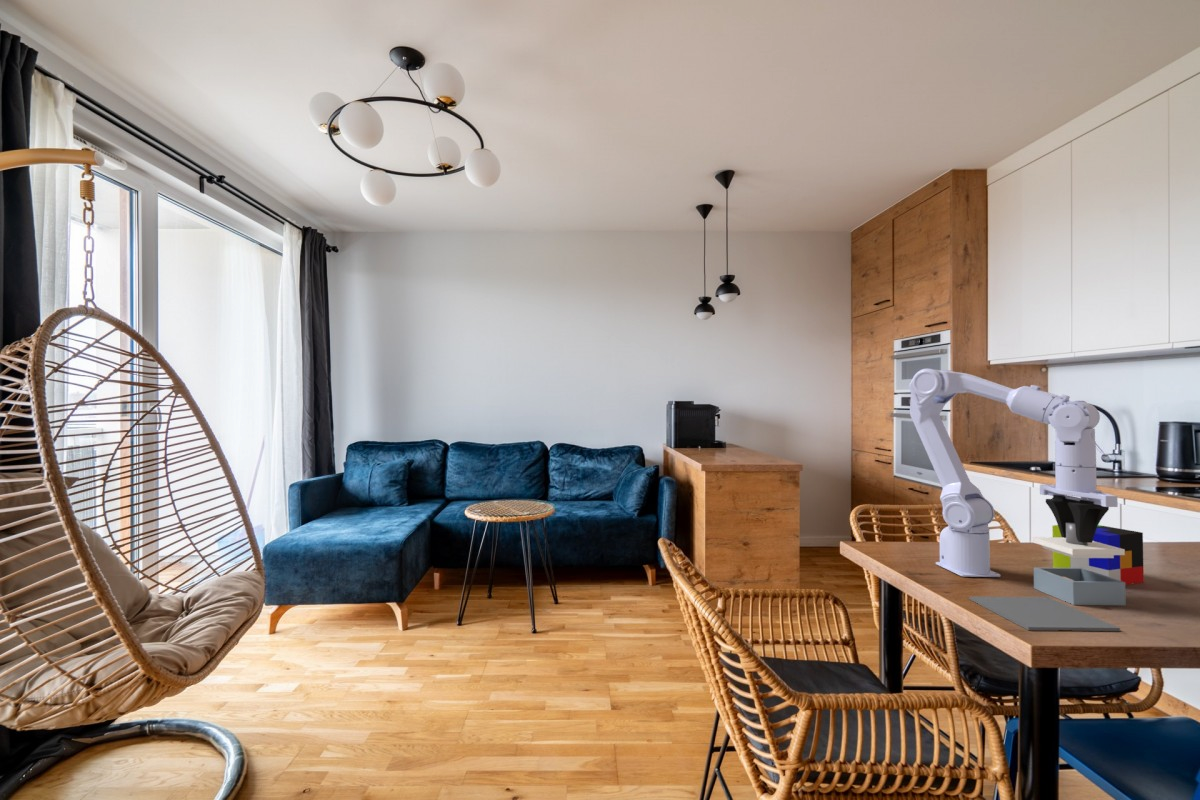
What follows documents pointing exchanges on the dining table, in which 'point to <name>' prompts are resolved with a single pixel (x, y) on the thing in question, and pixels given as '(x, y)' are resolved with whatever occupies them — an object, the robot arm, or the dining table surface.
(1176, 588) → the dining table surface
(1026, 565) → the dining table surface
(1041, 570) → the storage box
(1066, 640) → the dining table surface
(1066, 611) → the mat
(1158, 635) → the dining table surface
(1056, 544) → the lid
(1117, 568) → the puzzle toy
